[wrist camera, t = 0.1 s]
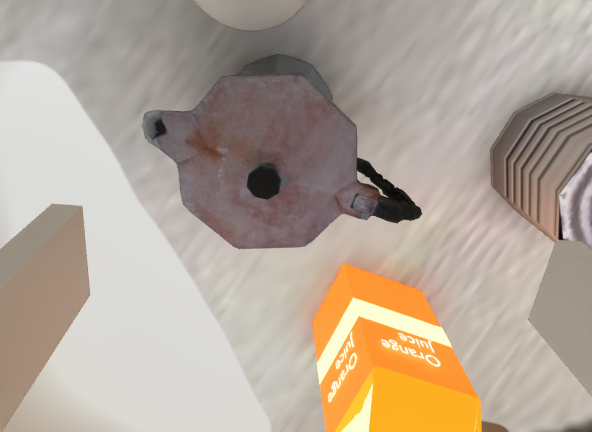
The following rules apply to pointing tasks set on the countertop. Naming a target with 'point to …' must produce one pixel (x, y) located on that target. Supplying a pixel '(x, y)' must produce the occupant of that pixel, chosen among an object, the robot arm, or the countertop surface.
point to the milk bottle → (251, 12)
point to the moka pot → (272, 158)
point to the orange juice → (388, 361)
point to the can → (548, 166)
